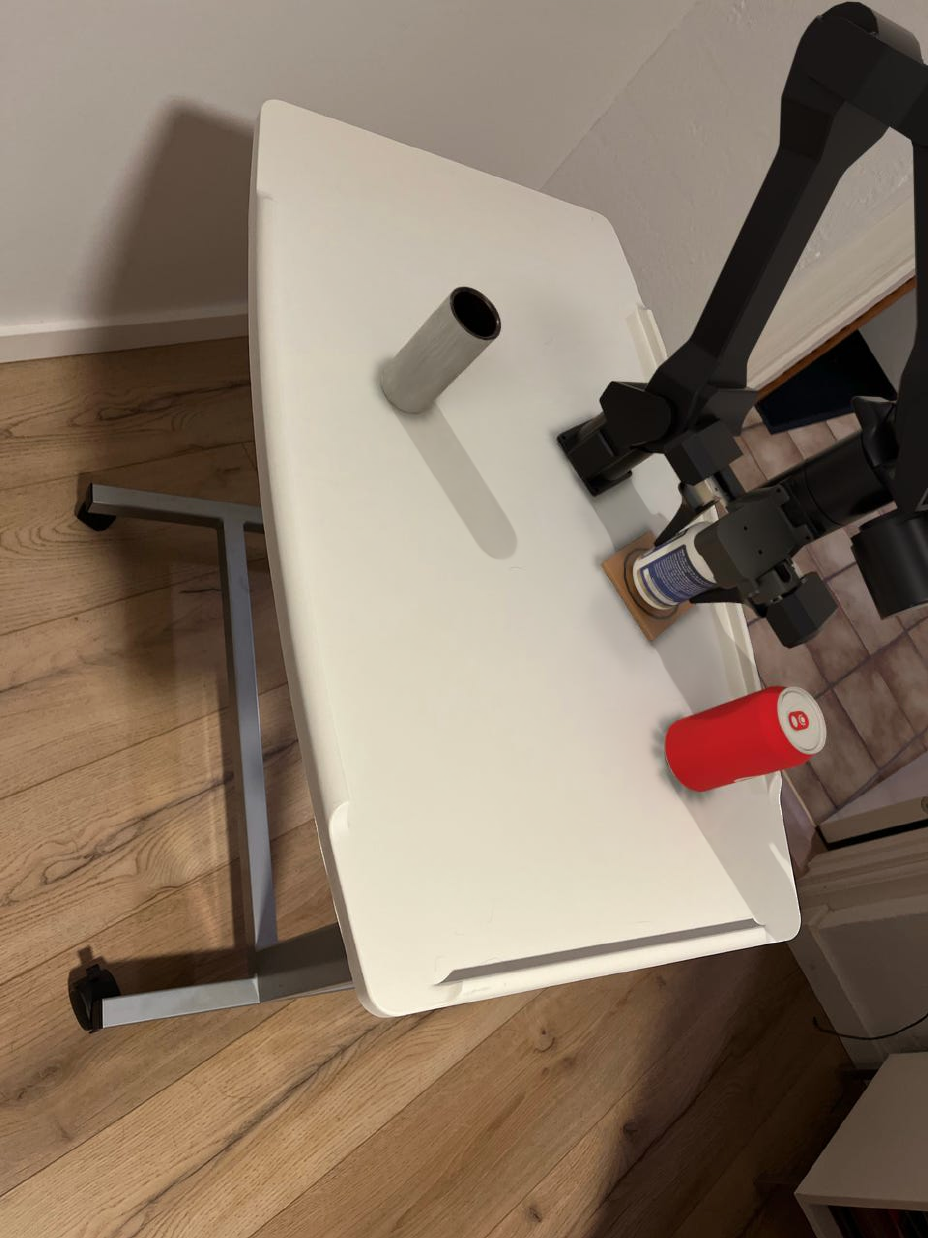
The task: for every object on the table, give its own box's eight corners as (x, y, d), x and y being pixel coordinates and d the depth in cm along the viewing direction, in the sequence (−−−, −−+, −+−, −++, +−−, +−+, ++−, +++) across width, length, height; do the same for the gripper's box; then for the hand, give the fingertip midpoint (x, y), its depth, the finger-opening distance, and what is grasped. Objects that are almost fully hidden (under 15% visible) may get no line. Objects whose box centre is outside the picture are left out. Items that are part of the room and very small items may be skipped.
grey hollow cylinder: (371, 389, 71) (441, 309, 63) (392, 354, 73) (461, 274, 66) (417, 424, 72) (491, 351, 64) (435, 389, 75) (509, 315, 67)
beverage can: (719, 788, 77) (841, 755, 68) (671, 799, 74) (793, 766, 64) (697, 717, 79) (813, 676, 70) (649, 725, 75) (765, 683, 66)
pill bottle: (673, 621, 79) (763, 579, 72) (628, 595, 77) (715, 549, 70) (676, 570, 82) (763, 525, 75) (633, 544, 80) (717, 495, 73)
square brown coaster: (647, 532, 84) (651, 530, 84) (692, 605, 84) (697, 603, 84) (600, 564, 79) (604, 561, 78) (649, 641, 79) (653, 639, 78)
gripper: (710, 409, 61) (562, 510, 73) (857, 645, 61) (685, 707, 73) (779, 371, 68) (635, 468, 80) (910, 582, 68) (746, 648, 80)
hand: (673, 571), depth 78 cm, fingers closed on pill bottle, 5 cm apart
